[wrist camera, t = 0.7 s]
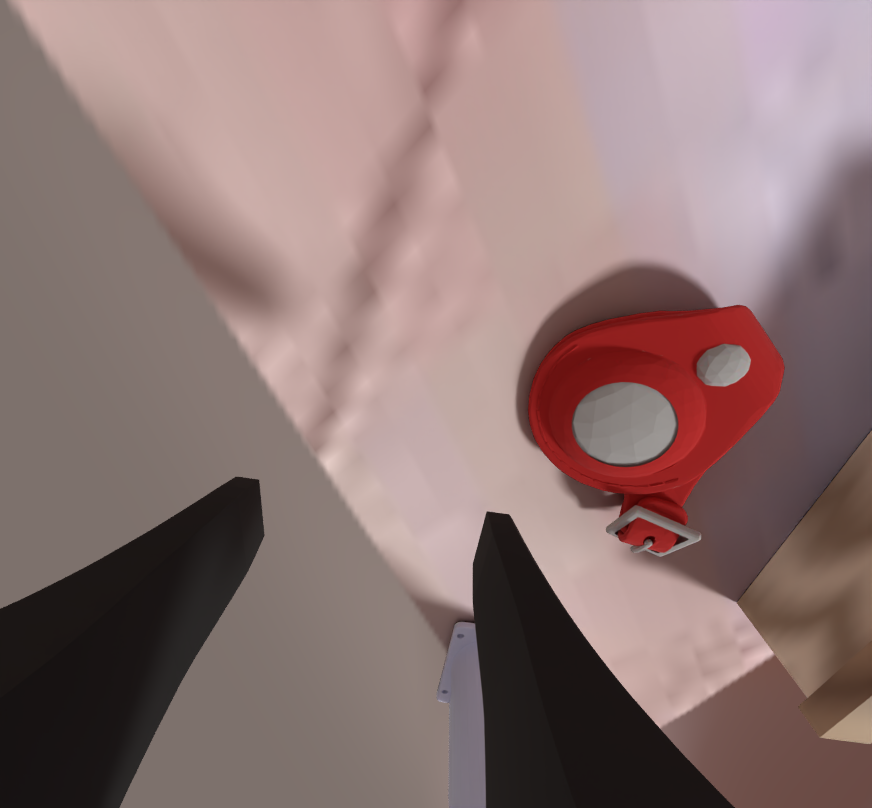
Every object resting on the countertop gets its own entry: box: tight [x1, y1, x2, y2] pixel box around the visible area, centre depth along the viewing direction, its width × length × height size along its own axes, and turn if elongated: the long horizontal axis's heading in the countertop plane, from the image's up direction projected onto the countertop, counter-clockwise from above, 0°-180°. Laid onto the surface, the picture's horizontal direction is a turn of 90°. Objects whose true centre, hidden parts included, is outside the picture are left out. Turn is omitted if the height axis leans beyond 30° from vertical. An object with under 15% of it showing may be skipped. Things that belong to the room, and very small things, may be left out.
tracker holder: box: [528, 305, 785, 557], centre depth 16 cm, size 12×4×10 cm
